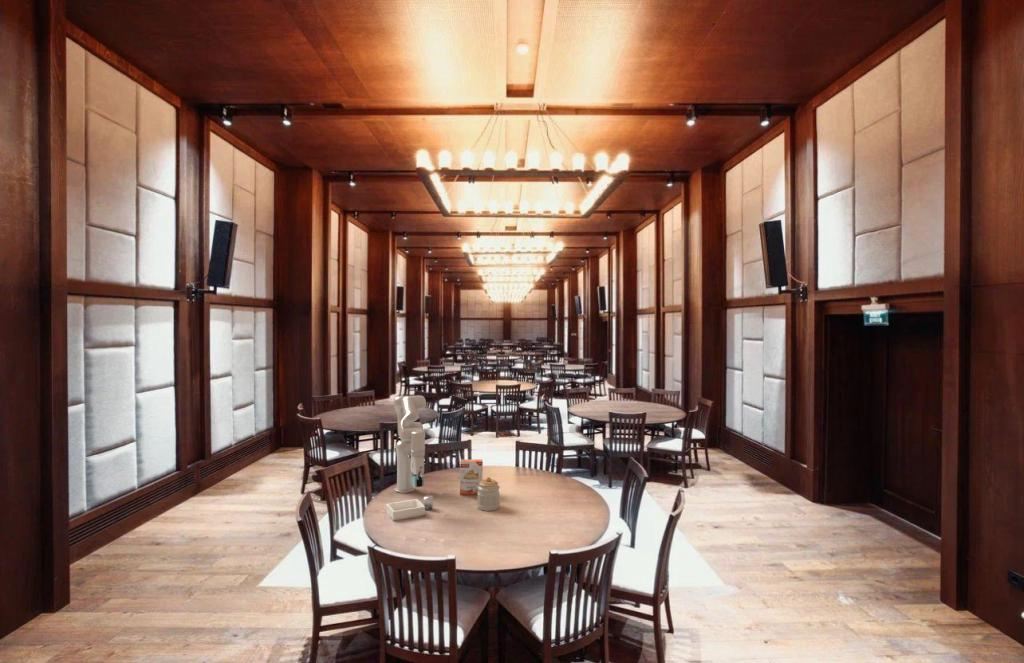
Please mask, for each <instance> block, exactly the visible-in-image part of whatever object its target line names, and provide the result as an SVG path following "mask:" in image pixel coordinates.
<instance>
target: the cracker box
mask: <svg viewBox="0 0 1024 663" xmlns="http://www.w3.org/2000/svg"><path fill="white" fill-rule="evenodd" d="M459 464H460V465H459V467H460V468H459V474H460V475H459V495H466V496H468V495H478V494H477V492H478V488H477V487H478V486H479V482H481V481H482V480H483V465H484V464H483V459H482V458H481V459H480V458H479V459H460V460H459Z"/></svg>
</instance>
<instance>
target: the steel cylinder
mask: <svg viewBox="0 0 1024 663" xmlns="http://www.w3.org/2000/svg"><path fill="white" fill-rule="evenodd" d="M433 500H434V497H433V495H425V496H423V505H424V506H425V512H426V511H427V512H428V511H429V512H430V511H432V510H433V507H434V506H433V504H434V503H433Z"/></svg>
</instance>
